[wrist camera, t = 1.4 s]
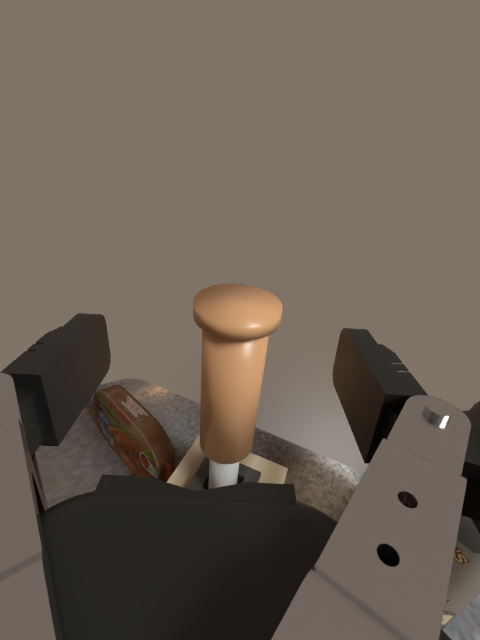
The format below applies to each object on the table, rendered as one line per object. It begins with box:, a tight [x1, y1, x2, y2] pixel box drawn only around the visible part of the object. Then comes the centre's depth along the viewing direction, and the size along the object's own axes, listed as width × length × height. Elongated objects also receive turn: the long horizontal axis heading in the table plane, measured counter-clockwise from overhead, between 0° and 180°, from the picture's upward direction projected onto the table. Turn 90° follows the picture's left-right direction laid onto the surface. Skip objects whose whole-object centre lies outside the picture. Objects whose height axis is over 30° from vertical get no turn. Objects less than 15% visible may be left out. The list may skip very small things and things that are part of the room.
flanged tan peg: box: [193, 284, 282, 489], centre depth 26 cm, size 6×6×21 cm
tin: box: [93, 385, 175, 482], centre depth 40 cm, size 15×3×8 cm, turn 46°
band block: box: [167, 435, 288, 491], centre depth 33 cm, size 10×10×9 cm
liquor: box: [441, 401, 480, 629], centre depth 26 cm, size 9×9×30 cm
